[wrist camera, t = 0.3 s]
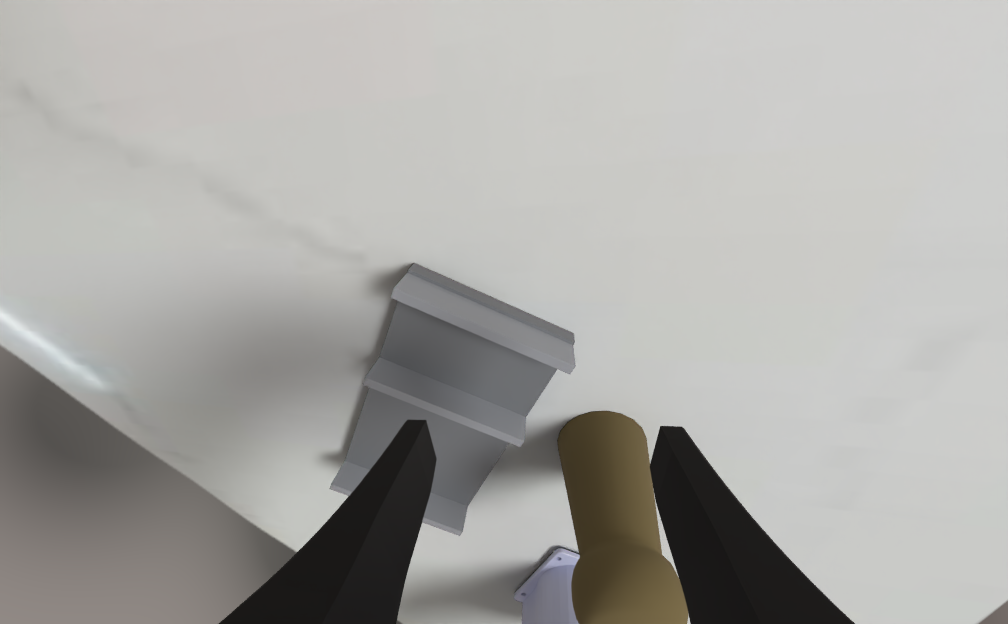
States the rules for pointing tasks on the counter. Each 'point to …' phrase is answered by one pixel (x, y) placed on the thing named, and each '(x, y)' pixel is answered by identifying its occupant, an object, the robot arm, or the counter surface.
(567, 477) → the cork
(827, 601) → the robot arm
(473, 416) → the rack
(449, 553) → the counter surface
